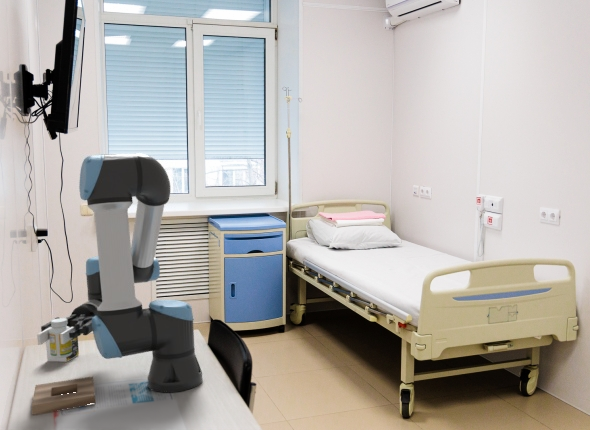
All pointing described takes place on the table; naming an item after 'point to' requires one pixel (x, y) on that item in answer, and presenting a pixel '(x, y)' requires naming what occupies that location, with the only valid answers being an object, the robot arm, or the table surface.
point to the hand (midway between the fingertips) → (50, 339)
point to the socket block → (52, 400)
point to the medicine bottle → (74, 353)
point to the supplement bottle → (59, 339)
